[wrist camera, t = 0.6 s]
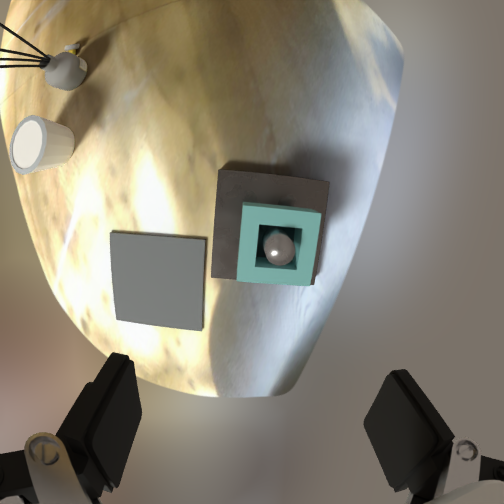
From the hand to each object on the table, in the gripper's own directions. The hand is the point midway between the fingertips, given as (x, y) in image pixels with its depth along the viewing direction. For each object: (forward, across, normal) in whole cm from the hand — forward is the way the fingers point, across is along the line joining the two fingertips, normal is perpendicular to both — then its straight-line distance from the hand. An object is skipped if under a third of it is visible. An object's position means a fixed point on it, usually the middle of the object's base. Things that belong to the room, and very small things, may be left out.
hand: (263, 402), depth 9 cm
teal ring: (+18, -2, -2) cm, 18 cm away
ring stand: (+24, -2, -2) cm, 24 cm away
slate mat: (+24, +11, +6) cm, 27 cm away
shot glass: (+24, +26, -10) cm, 37 cm away
